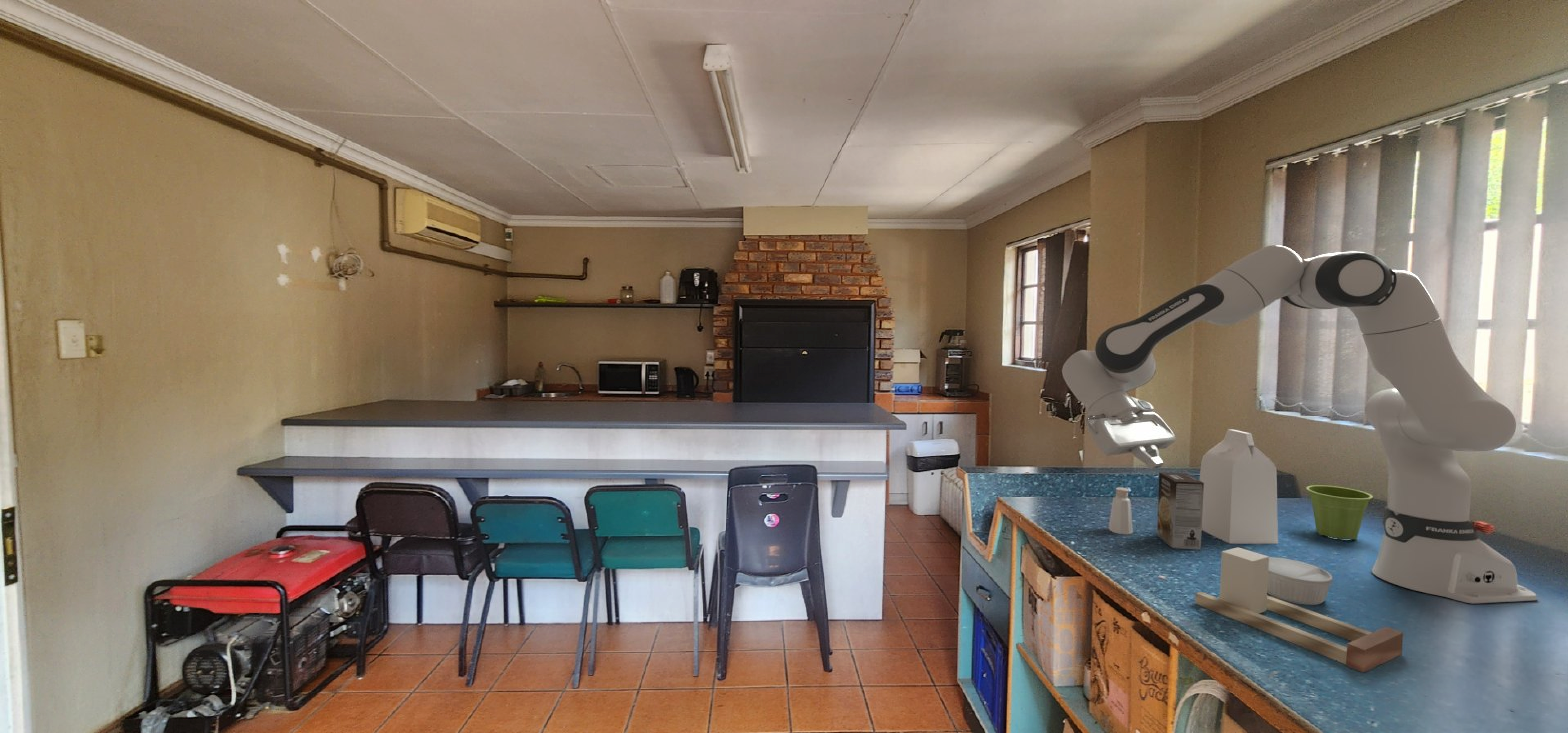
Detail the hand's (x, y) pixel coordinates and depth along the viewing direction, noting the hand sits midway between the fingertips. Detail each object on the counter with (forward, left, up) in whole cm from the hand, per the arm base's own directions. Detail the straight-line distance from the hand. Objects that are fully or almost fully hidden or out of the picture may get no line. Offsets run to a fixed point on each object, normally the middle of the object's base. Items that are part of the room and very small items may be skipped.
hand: (1157, 466), depth 120 cm
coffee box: (-16, -20, -23) cm, 34 cm away
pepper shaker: (-6, -27, -23) cm, 36 cm away
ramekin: (-22, +7, -23) cm, 32 cm away
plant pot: (-57, -28, -23) cm, 67 cm away
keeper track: (-12, +20, -23) cm, 33 cm away
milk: (-33, -27, -23) cm, 48 cm away
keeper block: (-8, +14, -23) cm, 28 cm away
